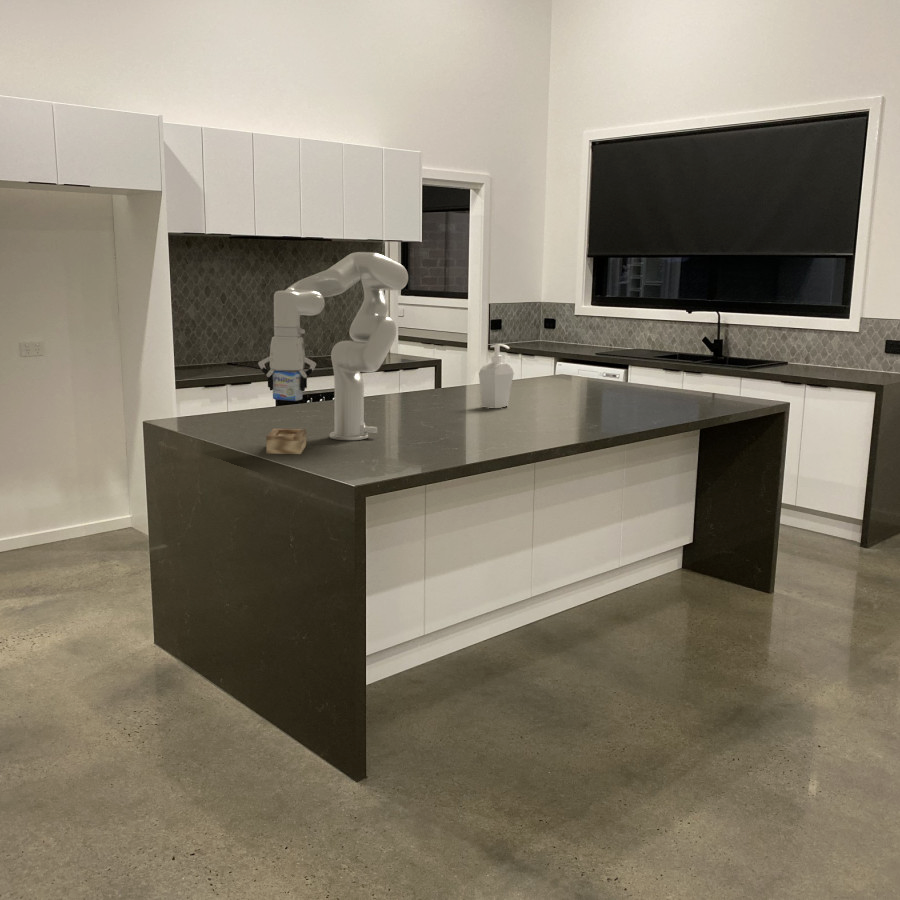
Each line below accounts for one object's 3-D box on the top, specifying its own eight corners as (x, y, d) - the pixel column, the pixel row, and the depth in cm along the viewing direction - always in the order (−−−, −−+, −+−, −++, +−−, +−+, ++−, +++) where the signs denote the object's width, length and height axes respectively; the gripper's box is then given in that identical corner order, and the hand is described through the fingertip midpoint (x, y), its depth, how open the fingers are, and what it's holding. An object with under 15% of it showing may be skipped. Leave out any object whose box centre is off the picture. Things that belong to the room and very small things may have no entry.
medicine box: (272, 399, 273) (271, 370, 271) (279, 397, 277) (279, 369, 275) (295, 401, 270) (295, 372, 268) (302, 399, 274) (302, 370, 272)
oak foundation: (306, 445, 283) (306, 429, 282) (300, 454, 270) (300, 437, 269) (273, 445, 283) (273, 428, 282) (266, 453, 270) (266, 436, 269)
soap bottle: (497, 410, 363) (499, 345, 357) (477, 407, 369) (479, 344, 364) (515, 407, 372) (518, 344, 367) (496, 404, 378) (498, 342, 373)
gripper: (317, 332, 273) (317, 389, 277) (259, 331, 273) (260, 388, 276) (314, 334, 266) (315, 392, 269) (255, 332, 265) (256, 391, 269)
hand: (287, 390), depth 273 cm, fingers closed on medicine box, 9 cm apart
